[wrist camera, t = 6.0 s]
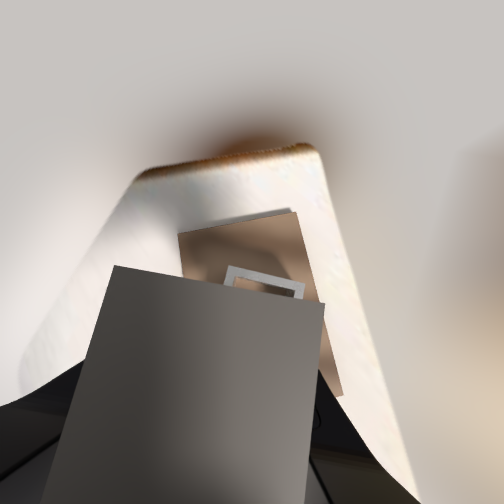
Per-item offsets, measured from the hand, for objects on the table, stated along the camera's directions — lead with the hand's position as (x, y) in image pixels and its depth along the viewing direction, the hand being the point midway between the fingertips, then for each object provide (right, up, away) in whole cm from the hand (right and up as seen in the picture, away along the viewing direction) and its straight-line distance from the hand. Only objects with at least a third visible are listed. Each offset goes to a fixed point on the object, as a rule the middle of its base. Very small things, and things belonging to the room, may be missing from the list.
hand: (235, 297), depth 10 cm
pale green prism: (0, -3, +6) cm, 7 cm away
